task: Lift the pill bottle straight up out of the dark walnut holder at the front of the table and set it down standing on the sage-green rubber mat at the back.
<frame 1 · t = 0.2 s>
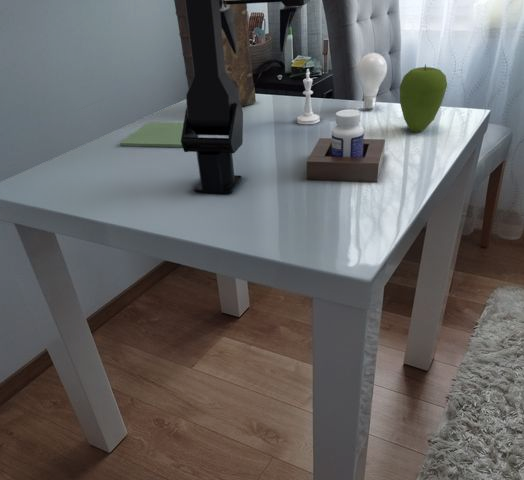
hand: (258, 52, 96), 15 cm above the table, tool pointing down, fingers open, 9 cm apart
pill bottle: (346, 168, 87), resting in holder
holder: (346, 167, 87), on the table
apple: (417, 130, 100), on the table
mat: (164, 135, 108), on the table
lightbulb: (369, 110, 113), on the table
chess piece: (308, 122, 109), on the table
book: (221, 109, 121), on the table
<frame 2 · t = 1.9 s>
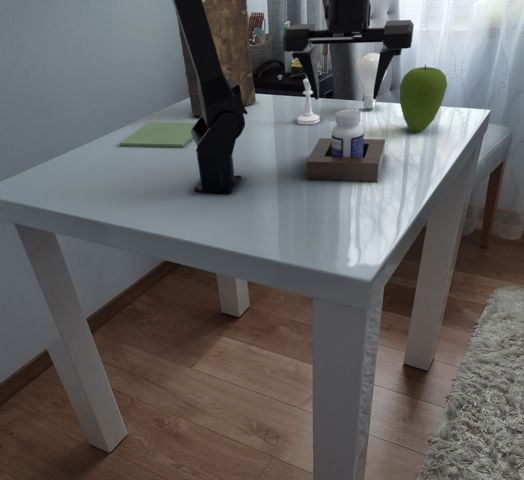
hand: (345, 98, 81), 11 cm above the table, tool pointing down, fingers open, 9 cm apart
nothing on the table moved.
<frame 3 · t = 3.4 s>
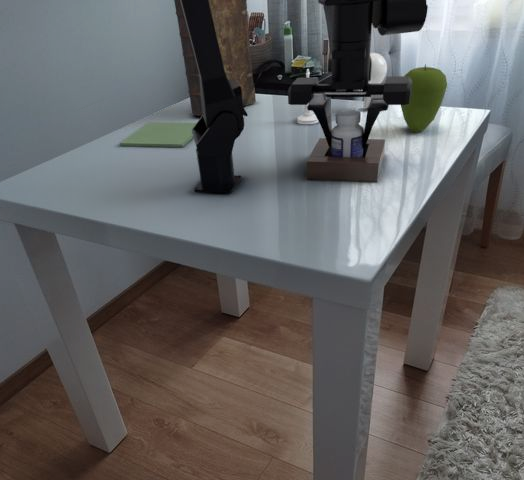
hand: (347, 146, 85), 4 cm above the table, tool pointing down, fingers closed on pill bottle, 5 cm apart
pill bottle: (346, 168, 87), resting in holder, touching gripper
everything else where it was.
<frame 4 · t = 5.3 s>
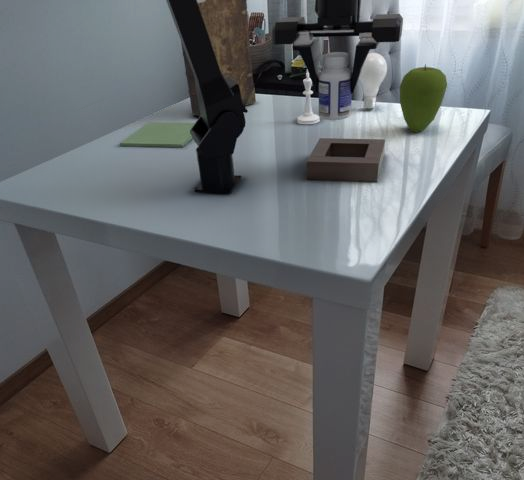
hand: (335, 92, 81), 12 cm above the table, tool pointing down, fingers closed on pill bottle, 5 cm apart
pill bottle: (334, 117, 83), point 8 cm above the table, touching gripper
everything else where it was.
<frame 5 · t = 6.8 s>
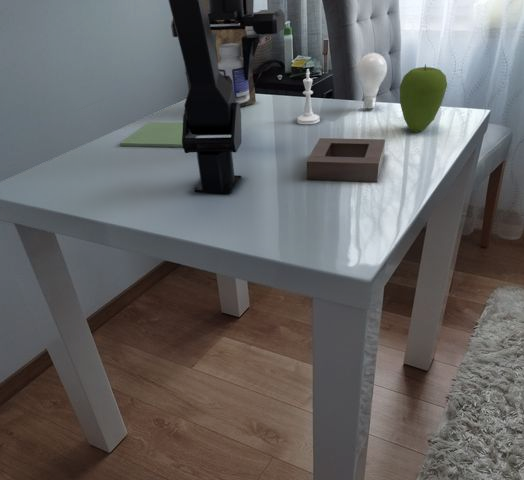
hand: (233, 80, 91), 12 cm above the table, tool pointing down, fingers closed on pill bottle, 5 cm apart
pill bottle: (235, 102, 93), point 8 cm above the table, touching gripper
everything else where it was.
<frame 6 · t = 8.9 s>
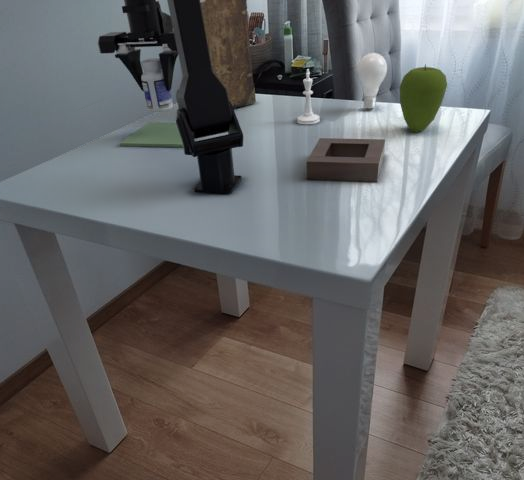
hand: (156, 90, 102), 9 cm above the table, tool pointing down, fingers closed on pill bottle, 5 cm apart
pill bottle: (160, 109, 105), point 5 cm above the table, touching gripper
everything else where it was.
when the fingers open (4 cm above the table, at t = 10.5 s): pill bottle stays where it is, resting on mat.
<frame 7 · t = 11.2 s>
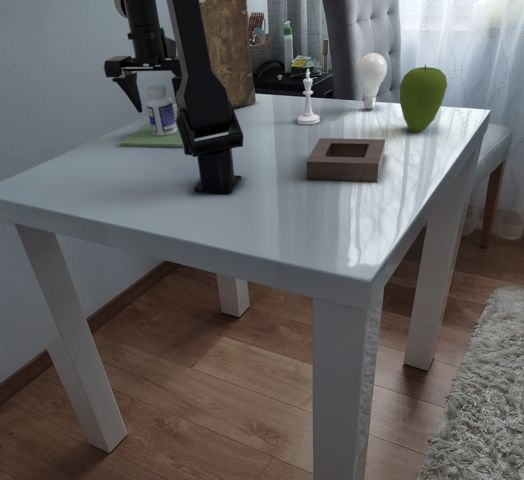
hand: (160, 112, 105), 5 cm above the table, tool pointing down, fingers open, 9 cm apart
pill bottle: (165, 133, 108), resting on mat
everything else where it was.
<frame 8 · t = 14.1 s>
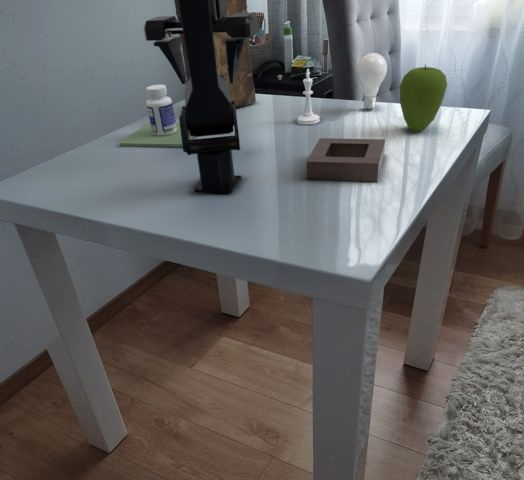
hand: (208, 83, 90), 12 cm above the table, tool pointing down, fingers open, 9 cm apart
nothing on the table moved.
at the end: pill bottle inside the target area on the mat (0.1 cm from its centre), point 0.4 cm above the mat's base; pill bottle tilted 0° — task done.
